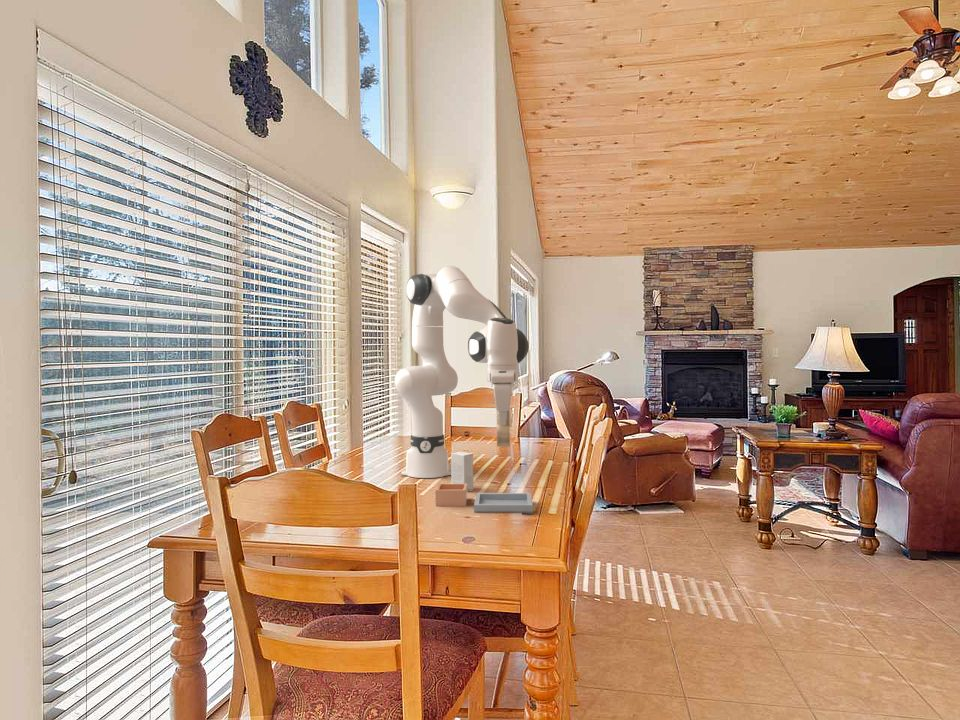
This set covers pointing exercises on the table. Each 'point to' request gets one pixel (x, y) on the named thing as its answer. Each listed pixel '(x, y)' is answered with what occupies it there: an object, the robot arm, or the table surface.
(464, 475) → the skincare box
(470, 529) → the table surface
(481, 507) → the slate tray
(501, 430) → the translucent grey tall block
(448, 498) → the terracotta open box
